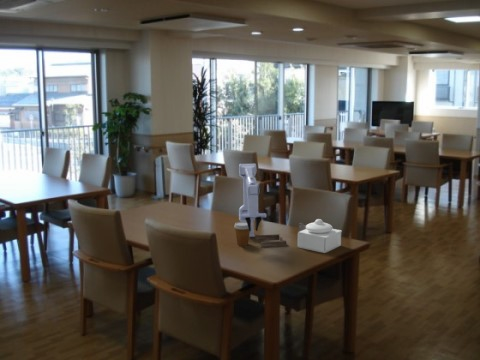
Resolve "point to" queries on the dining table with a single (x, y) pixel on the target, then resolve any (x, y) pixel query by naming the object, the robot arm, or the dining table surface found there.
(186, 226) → the dining table surface
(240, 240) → the disposable coffee cup
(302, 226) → the architectural model on board
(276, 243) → the cup holder
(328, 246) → the butter dish
